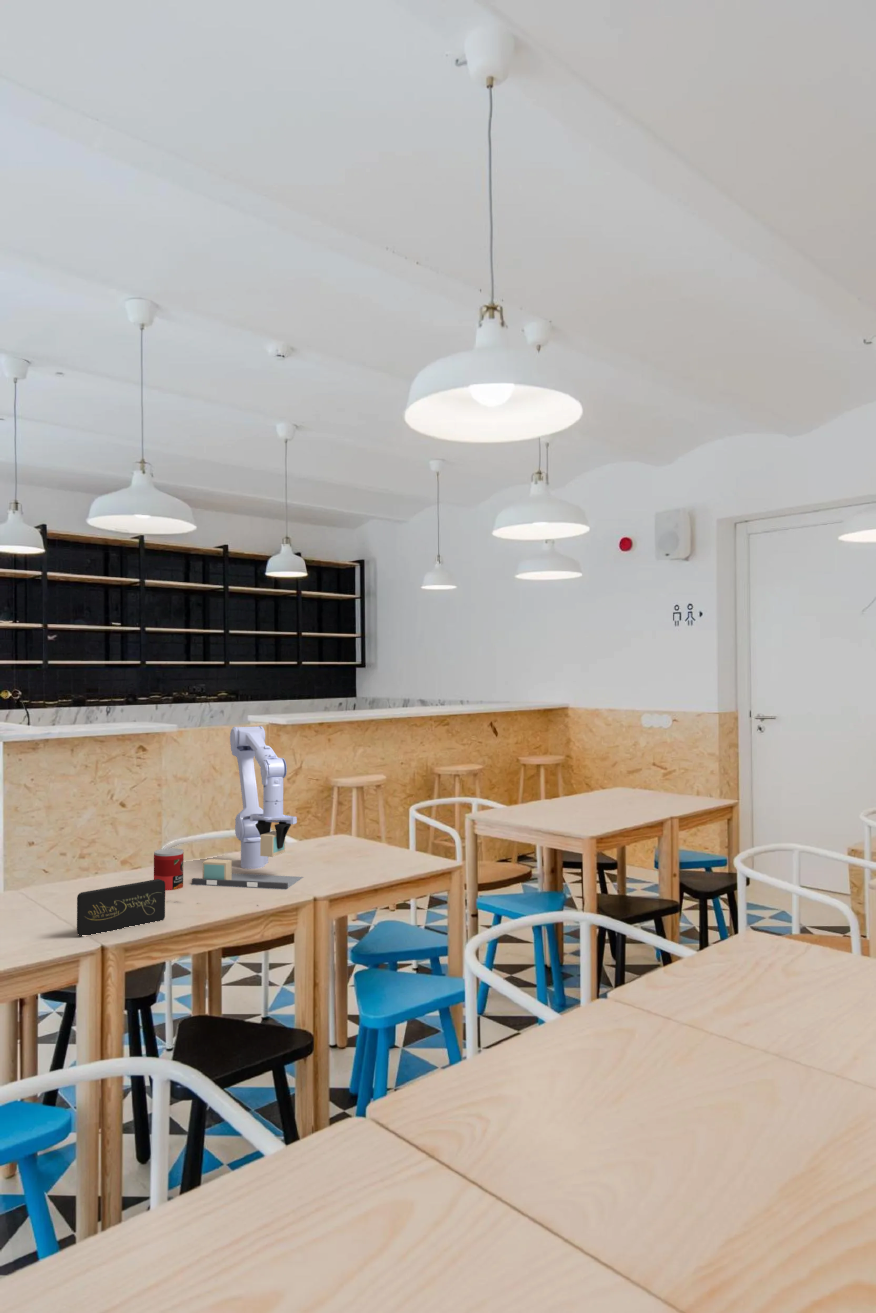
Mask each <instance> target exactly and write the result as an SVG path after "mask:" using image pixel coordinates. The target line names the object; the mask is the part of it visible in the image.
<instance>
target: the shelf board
mask: <svg viewBox="0 0 876 1313" xmlns="http://www.w3.org/2000/svg"><path fill="white" fill-rule="evenodd" d="M303 878H304V876H293V875H274V874H273V875H271V874H253V873H252V874H250V873H234V872H232V880H222V879H202V878H199V877H196V878H195V877H194V878H193V877H192V878H191V886H206V887H209V886H210V887H228V888H244V889H245V888H246V889H262V890H263V889H265V890H284V891H285V890H288V889H289V888H291V887H292V886H293V885H295V884H296V883H298V882H299V881H301V880H302V879H303Z"/></svg>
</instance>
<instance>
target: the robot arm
mask: <svg viewBox="0 0 876 1313" xmlns="http://www.w3.org/2000/svg"><path fill="white" fill-rule="evenodd" d="M265 741H266V731H265V727H263V726H262V725H259V726H257V725H256V726H233V727H232V728H231V729H230V735H229V743H230V752H231V755H232V756H234V757H235V758H236V760H237V765H238V774H239V783H240V792H241V799H242V809H241V811H239V812H238V814H236V816H235V818H234V820H235V826H234V832H235V833H234V834H235V836H236V838H237V840H239V841H240V868H242V869H247V870H251V869H254V870H255V869H261V868H264V867H265V866H266V865H267V864H268V863H269V857H267V856H260V835H262V834H265V833H268V832H271V831H272V823H275V824H274V829H275V831H276V835H277V849H280V848H283V844H284V840H285V841H286V836H287V834H288V831H289V829H290V827H291V826H292V825H296V824H297V823H298V819H297V818H298V817H297V816H293V815H286V814H284V779H285V778H286V776H287V772H288V771H287V770H288V768H287V766H288V765H287V762H286V759H285V758H284V757H278V755H277V754H276V752H275V751H274V749H273V748H272V747H271V746H270V745H266V742H265ZM254 758H255V760H254ZM255 761H256V763H257V764H258V766H259V767H260V777H261V784H262V787H263V789H262V790H263V795H262V796H263V797H262V798H263V800H262V802H263V804H262V807H263V808H262V807H260V803H259V795H258V788H257V786H258V785H257V779H256V770H255Z"/></svg>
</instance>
